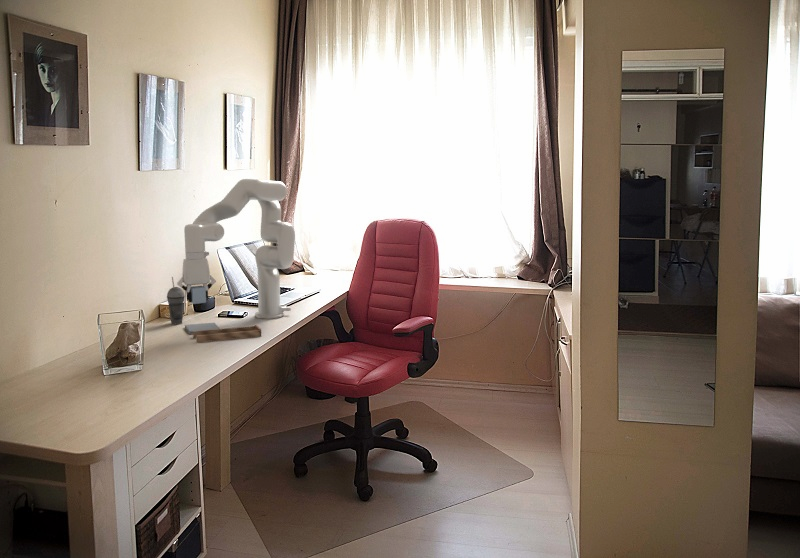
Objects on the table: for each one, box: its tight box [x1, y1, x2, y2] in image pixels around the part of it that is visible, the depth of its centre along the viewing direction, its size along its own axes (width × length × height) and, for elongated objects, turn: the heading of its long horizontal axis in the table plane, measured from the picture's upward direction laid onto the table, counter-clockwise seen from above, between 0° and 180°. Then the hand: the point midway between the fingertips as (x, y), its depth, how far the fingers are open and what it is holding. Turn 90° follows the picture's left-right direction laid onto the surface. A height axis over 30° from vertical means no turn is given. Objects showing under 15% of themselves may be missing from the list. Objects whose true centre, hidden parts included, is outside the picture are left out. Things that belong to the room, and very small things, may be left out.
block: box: [190, 284, 207, 305], centre depth 285 cm, size 5×5×6 cm
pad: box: [184, 322, 221, 335], centre depth 295 cm, size 12×12×1 cm
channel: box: [192, 324, 262, 343], centre depth 284 cm, size 25×8×3 cm, turn 115°
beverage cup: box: [166, 276, 186, 326], centre depth 303 cm, size 7×7×20 cm
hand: (197, 300), depth 286 cm, fingers closed on block, 5 cm apart
